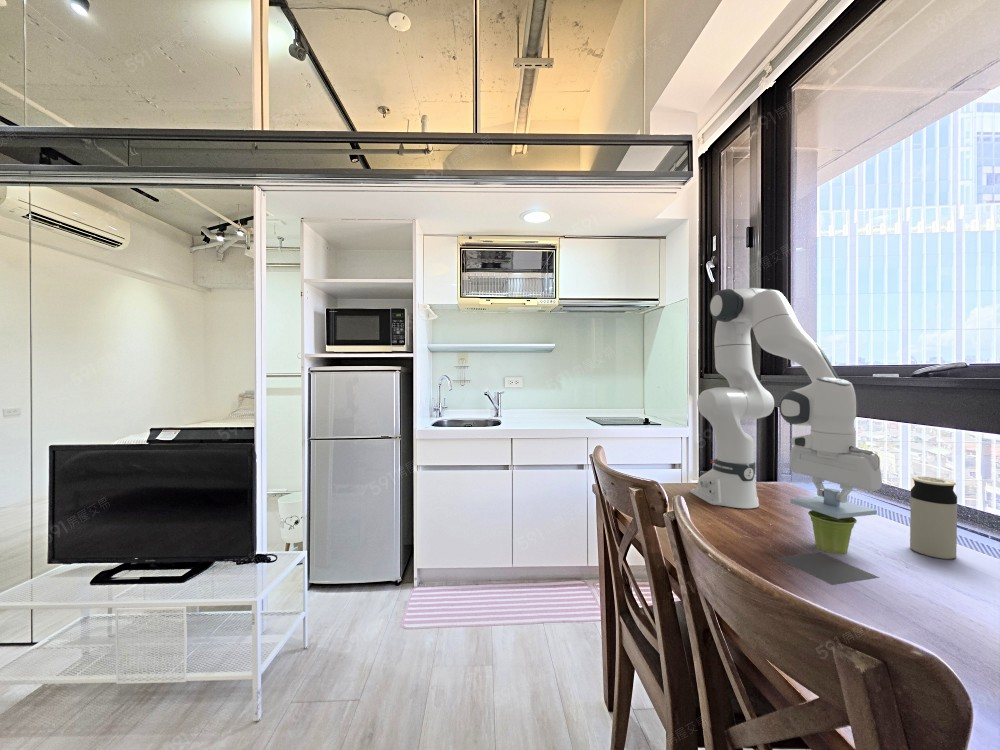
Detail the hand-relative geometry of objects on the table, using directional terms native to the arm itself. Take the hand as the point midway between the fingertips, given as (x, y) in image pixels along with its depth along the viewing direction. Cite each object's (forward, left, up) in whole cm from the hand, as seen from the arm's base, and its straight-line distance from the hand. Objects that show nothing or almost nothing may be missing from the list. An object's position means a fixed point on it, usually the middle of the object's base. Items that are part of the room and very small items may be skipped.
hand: (831, 499), depth 105 cm
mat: (+8, -11, -13) cm, 19 cm away
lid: (0, 0, -2) cm, 2 cm away
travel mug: (+7, +23, -13) cm, 27 cm away
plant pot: (0, 0, -13) cm, 13 cm away
